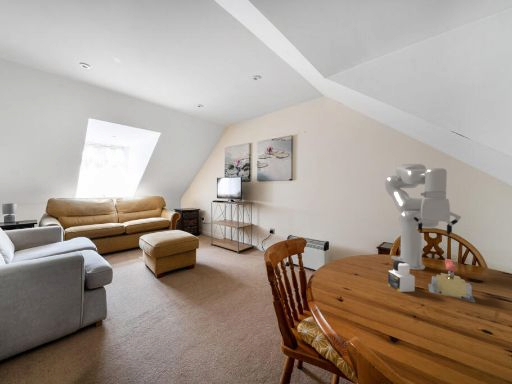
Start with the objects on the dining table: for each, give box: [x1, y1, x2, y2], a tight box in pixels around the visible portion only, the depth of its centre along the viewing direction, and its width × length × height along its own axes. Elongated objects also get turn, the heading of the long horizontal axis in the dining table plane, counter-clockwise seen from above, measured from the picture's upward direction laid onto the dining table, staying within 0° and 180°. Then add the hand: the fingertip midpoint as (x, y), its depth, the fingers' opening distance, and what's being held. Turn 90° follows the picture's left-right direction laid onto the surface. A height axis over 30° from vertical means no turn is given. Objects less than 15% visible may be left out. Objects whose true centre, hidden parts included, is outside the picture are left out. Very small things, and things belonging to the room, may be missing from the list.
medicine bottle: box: [387, 260, 416, 293], centre depth 94 cm, size 7×7×12 cm
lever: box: [444, 258, 457, 273], centre depth 91 cm, size 3×10×2 cm, turn 143°
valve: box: [431, 270, 473, 300], centre depth 89 cm, size 12×6×10 cm, turn 53°
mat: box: [428, 283, 476, 303], centre depth 90 cm, size 14×9×1 cm, turn 53°
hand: (434, 232), depth 97 cm, fingers open, 9 cm apart
